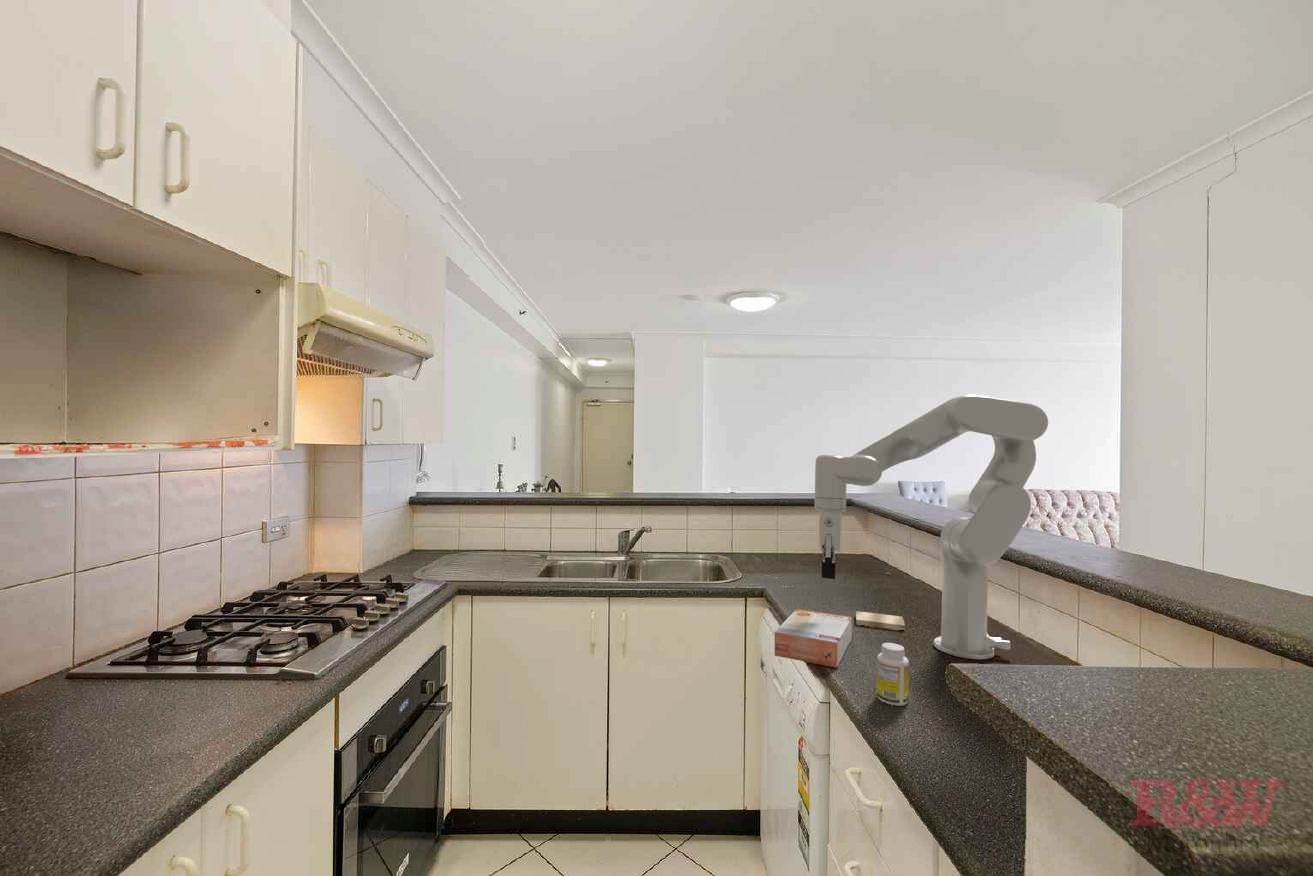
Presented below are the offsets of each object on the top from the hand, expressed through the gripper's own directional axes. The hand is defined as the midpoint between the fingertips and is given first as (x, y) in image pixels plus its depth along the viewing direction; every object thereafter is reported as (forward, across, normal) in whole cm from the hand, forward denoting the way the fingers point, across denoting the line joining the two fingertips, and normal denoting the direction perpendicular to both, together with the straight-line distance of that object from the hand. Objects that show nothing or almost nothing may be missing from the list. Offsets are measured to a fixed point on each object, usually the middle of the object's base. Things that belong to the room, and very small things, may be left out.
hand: (828, 577), depth 138 cm
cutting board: (+15, +18, -13) cm, 27 cm away
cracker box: (+12, +2, +1) cm, 13 cm away
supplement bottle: (+15, -30, -13) cm, 36 cm away
